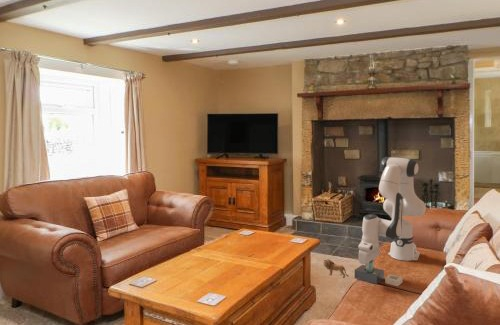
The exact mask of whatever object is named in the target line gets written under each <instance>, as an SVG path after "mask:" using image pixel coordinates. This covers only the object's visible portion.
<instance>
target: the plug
mask: <svg viewBox="0 0 500 325" xmlns="http://www.w3.org/2000/svg"><path fill="white" fill-rule="evenodd" d="M369 265H370V268H369V269H367V268H366V271H369V272H372V271H373V268H374V262H373V260H371V261H370V262H369Z"/></svg>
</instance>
